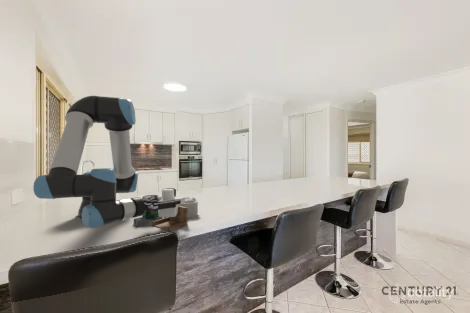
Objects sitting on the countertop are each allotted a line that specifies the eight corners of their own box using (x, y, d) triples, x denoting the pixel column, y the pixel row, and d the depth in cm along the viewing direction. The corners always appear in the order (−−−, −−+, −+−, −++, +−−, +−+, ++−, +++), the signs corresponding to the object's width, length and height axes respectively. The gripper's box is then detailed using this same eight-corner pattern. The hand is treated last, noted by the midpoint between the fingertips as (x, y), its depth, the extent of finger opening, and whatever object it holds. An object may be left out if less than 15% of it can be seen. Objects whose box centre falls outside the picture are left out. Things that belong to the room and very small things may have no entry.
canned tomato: (153, 220, 105) (153, 198, 104) (138, 219, 106) (138, 197, 106) (161, 216, 112) (161, 195, 112) (148, 215, 114) (148, 194, 114)
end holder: (152, 225, 98) (152, 207, 98) (170, 219, 106) (170, 203, 106) (169, 231, 91) (169, 212, 91) (187, 224, 99) (187, 207, 99)
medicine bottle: (162, 213, 101) (163, 187, 101) (178, 212, 101) (178, 187, 101) (158, 217, 93) (158, 189, 94) (175, 217, 94) (175, 189, 94)
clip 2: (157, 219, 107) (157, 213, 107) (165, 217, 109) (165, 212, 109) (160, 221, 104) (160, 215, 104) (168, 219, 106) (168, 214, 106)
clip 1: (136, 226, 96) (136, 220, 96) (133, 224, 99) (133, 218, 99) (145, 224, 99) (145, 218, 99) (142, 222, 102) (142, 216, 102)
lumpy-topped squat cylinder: (180, 218, 109) (180, 201, 109) (174, 212, 120) (174, 196, 120) (199, 215, 114) (199, 199, 114) (192, 210, 125) (192, 195, 125)
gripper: (115, 213, 89) (161, 203, 107) (147, 223, 76) (193, 210, 95) (116, 195, 89) (161, 188, 107) (148, 202, 76) (193, 193, 95)
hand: (176, 198), depth 101 cm, fingers closed on medicine bottle, 10 cm apart
